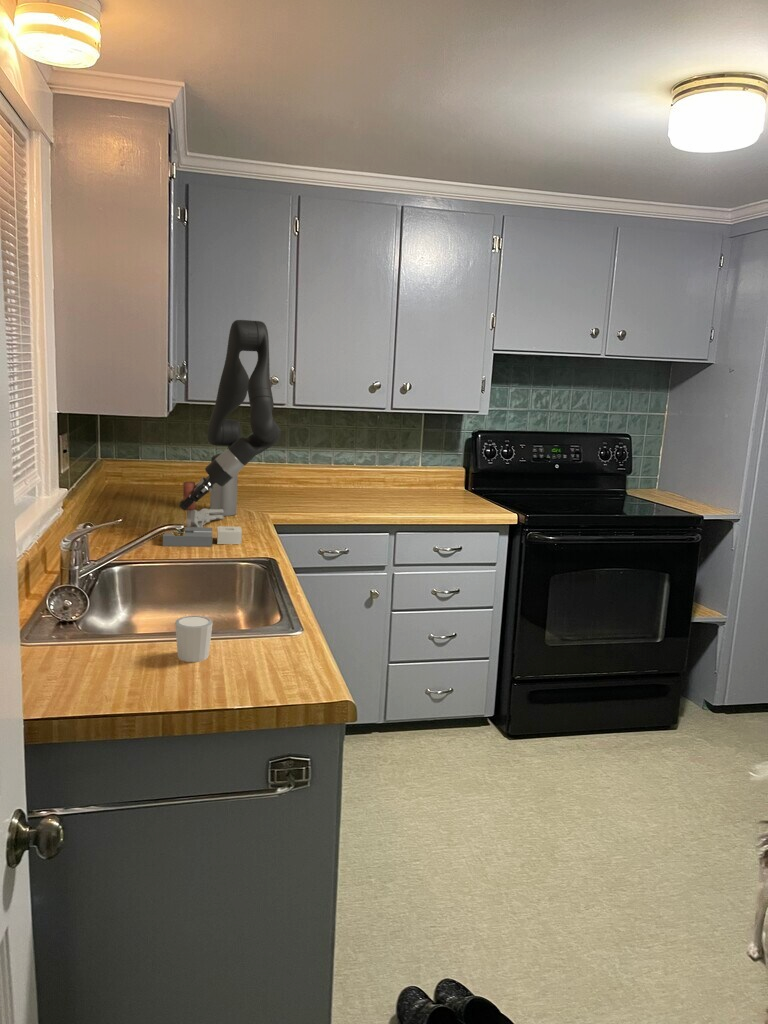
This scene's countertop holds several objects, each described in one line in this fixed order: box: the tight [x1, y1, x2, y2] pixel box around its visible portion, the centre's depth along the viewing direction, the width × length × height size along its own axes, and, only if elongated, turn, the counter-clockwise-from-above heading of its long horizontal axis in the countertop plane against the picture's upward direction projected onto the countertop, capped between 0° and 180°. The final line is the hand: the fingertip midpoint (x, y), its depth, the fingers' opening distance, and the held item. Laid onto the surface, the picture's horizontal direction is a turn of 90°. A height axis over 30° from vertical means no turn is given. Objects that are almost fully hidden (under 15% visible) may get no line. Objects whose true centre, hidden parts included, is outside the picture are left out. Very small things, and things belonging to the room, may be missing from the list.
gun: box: [191, 508, 225, 527], centre depth 249 cm, size 2×30×8 cm, turn 174°
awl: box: [182, 481, 196, 527], centre depth 228 cm, size 3×3×13 cm
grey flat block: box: [162, 526, 214, 548], centre depth 230 cm, size 12×14×3 cm
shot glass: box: [174, 615, 214, 663], centre depth 145 cm, size 7×7×7 cm
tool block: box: [216, 525, 243, 546], centre depth 232 cm, size 7×7×4 cm
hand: (182, 506), depth 227 cm, fingers closed on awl, 3 cm apart
